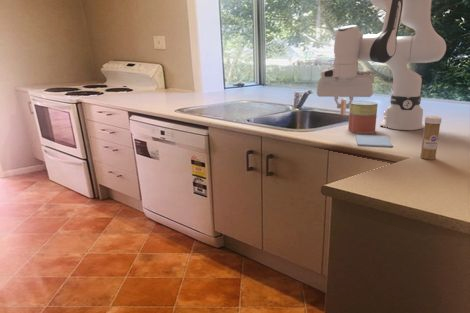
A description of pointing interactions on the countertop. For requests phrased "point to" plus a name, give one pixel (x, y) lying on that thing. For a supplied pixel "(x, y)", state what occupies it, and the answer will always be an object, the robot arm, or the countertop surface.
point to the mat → (373, 141)
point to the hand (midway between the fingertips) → (343, 108)
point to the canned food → (362, 117)
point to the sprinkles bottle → (430, 137)
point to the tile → (343, 106)
